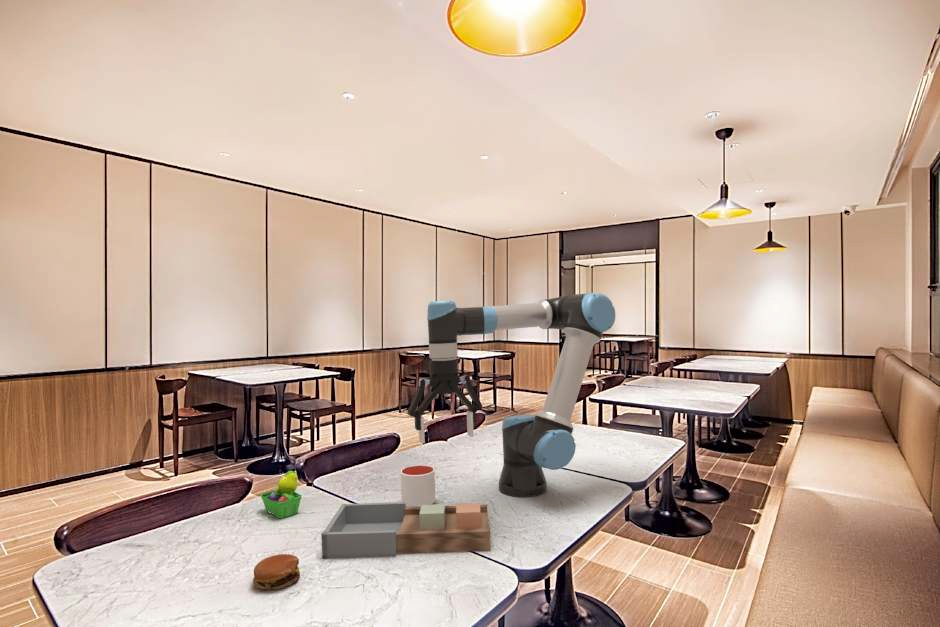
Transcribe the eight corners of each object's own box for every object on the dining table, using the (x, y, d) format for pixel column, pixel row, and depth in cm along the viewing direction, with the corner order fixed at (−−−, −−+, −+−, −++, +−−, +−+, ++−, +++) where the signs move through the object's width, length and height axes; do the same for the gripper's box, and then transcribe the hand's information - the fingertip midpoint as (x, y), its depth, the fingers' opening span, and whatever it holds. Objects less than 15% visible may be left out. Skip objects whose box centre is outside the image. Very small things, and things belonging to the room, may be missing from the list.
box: (406, 522, 138) (405, 502, 138) (396, 555, 118) (395, 532, 118) (342, 524, 138) (342, 504, 138) (322, 558, 118) (321, 534, 118)
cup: (430, 511, 145) (429, 476, 145) (396, 509, 147) (395, 475, 147) (439, 498, 155) (438, 465, 155) (407, 497, 157) (406, 464, 157)
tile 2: (480, 518, 131) (479, 503, 131) (480, 528, 125) (480, 512, 125) (457, 519, 131) (456, 503, 131) (456, 529, 125) (456, 512, 125)
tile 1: (445, 519, 131) (444, 504, 131) (444, 529, 125) (443, 513, 125) (422, 520, 131) (421, 504, 131) (419, 530, 125) (419, 514, 125)
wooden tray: (487, 521, 136) (487, 504, 136) (490, 550, 119) (489, 531, 120) (405, 524, 136) (405, 507, 136) (396, 553, 119) (396, 534, 119)
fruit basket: (259, 512, 149) (258, 473, 149) (288, 503, 155) (287, 466, 155) (278, 522, 141) (277, 481, 141) (307, 512, 147) (306, 473, 147)
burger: (248, 579, 110) (248, 557, 110) (292, 565, 116) (291, 545, 116) (259, 599, 102) (258, 576, 102) (306, 584, 107) (305, 562, 107)
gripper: (481, 354, 143) (484, 430, 143) (394, 361, 134) (397, 441, 134) (492, 356, 136) (495, 435, 136) (400, 363, 127) (404, 448, 127)
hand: (446, 439), depth 135 cm, fingers open, 13 cm apart
